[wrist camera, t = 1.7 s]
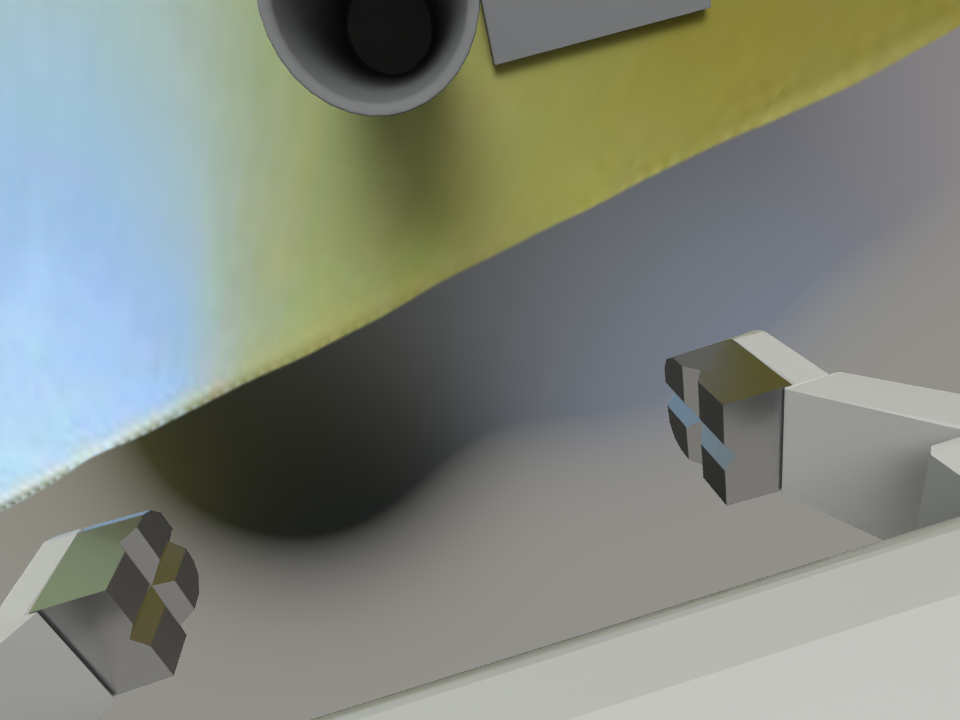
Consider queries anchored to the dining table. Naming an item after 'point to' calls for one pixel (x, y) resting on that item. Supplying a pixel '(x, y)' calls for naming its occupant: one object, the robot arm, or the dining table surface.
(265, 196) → the dining table surface
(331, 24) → the cup
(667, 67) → the dining table surface
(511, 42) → the mat
